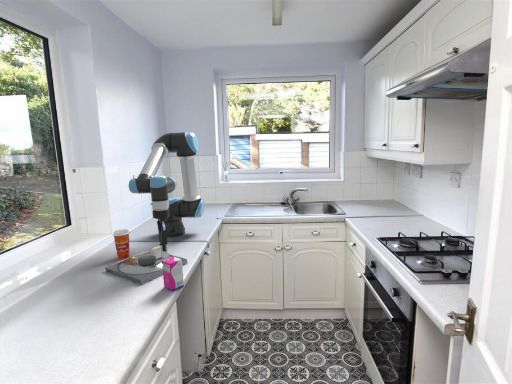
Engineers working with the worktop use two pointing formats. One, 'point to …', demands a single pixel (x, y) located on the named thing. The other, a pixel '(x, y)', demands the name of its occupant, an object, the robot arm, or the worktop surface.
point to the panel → (139, 268)
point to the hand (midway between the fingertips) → (164, 256)
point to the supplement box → (172, 273)
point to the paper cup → (122, 243)
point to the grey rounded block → (150, 257)
